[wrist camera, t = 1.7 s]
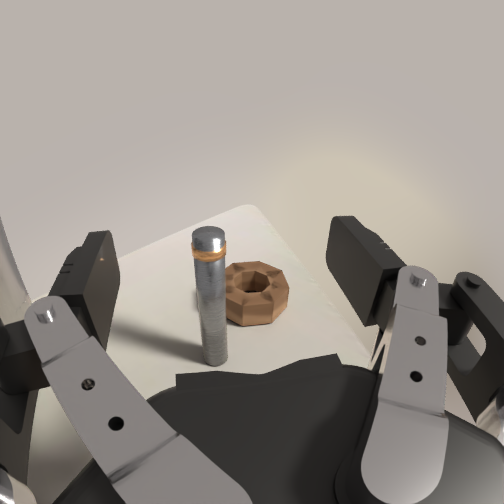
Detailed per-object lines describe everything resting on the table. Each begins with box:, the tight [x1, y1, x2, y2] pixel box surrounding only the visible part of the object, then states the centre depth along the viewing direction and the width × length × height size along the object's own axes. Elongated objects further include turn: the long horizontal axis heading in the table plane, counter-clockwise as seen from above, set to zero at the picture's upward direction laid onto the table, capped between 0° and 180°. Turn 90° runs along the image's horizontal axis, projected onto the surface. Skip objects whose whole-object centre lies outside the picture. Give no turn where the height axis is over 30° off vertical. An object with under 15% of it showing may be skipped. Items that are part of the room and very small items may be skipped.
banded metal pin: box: [191, 226, 228, 366], centre depth 27 cm, size 3×3×14 cm
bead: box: [225, 261, 289, 326], centre depth 38 cm, size 8×8×3 cm
